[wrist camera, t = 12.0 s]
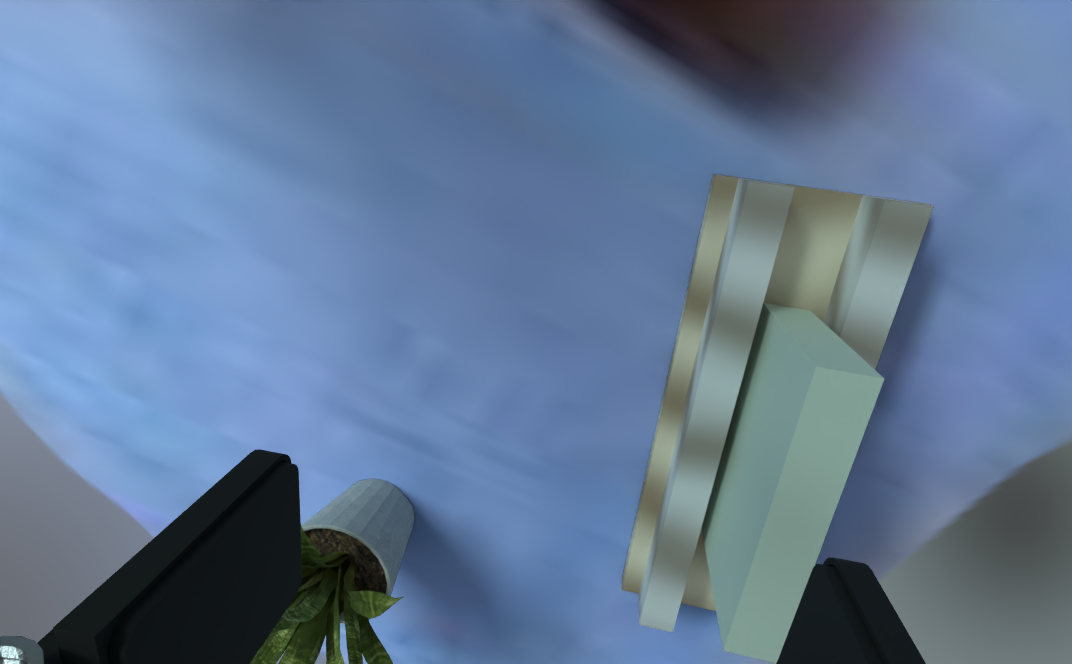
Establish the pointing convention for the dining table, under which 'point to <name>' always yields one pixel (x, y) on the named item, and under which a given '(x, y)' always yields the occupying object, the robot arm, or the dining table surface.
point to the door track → (782, 290)
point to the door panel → (782, 474)
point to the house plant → (344, 577)
